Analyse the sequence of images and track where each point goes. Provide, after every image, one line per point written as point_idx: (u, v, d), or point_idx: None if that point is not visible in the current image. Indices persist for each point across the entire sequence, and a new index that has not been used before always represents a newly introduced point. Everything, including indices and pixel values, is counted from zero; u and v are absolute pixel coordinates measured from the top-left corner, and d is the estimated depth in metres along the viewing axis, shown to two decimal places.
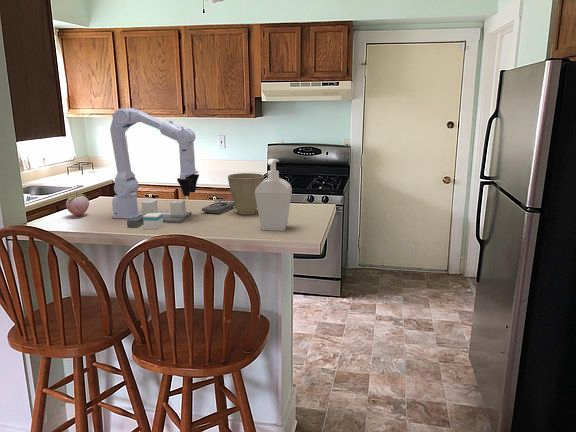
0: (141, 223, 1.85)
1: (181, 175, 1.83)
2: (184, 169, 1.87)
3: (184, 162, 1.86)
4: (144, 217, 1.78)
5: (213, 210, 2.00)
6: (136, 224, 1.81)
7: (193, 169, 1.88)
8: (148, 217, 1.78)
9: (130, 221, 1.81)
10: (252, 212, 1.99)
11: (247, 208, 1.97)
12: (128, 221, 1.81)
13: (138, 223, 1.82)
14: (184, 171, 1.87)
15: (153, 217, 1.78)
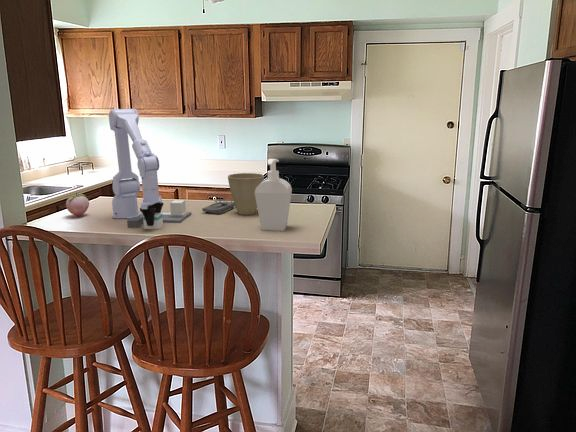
0: (141, 223, 1.85)
1: (142, 204, 1.72)
2: (146, 198, 1.76)
3: (146, 191, 1.75)
4: (144, 217, 1.78)
5: (214, 210, 1.99)
6: (136, 224, 1.81)
7: (156, 198, 1.77)
8: None
9: (130, 221, 1.81)
10: (252, 212, 1.99)
11: (247, 208, 1.97)
12: (128, 221, 1.81)
13: (138, 223, 1.82)
14: (146, 200, 1.76)
15: None
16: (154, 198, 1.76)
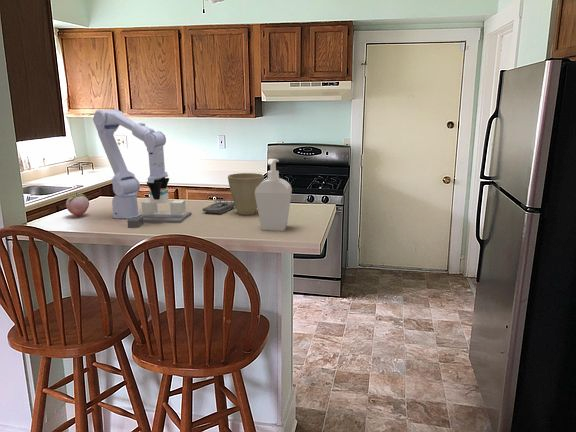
0: (141, 223, 1.85)
1: (149, 178, 1.80)
2: (153, 172, 1.84)
3: (153, 165, 1.83)
4: (150, 191, 1.86)
5: (214, 210, 1.99)
6: (137, 224, 1.81)
7: (162, 172, 1.85)
8: None
9: (131, 221, 1.81)
10: (252, 212, 1.99)
11: (247, 208, 1.97)
12: (129, 221, 1.81)
13: (139, 223, 1.82)
14: (153, 174, 1.84)
15: None
16: (160, 173, 1.84)
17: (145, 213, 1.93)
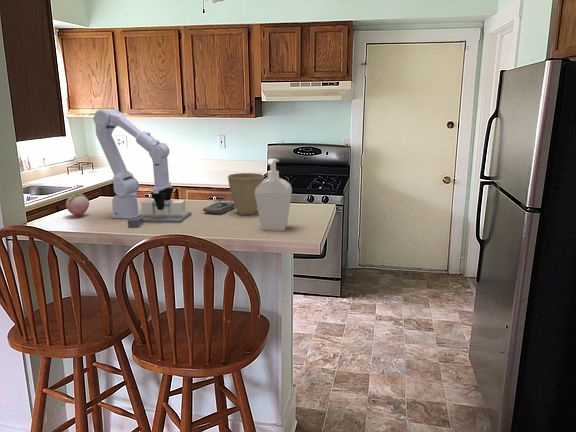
0: (141, 223, 1.85)
1: (154, 189, 1.85)
2: (158, 183, 1.89)
3: (158, 176, 1.88)
4: (155, 203, 1.91)
5: (214, 210, 1.99)
6: (137, 224, 1.81)
7: (167, 183, 1.90)
8: None
9: (131, 221, 1.81)
10: (252, 212, 1.99)
11: (247, 208, 1.97)
12: (129, 221, 1.81)
13: (139, 223, 1.82)
14: (158, 185, 1.89)
15: (164, 203, 1.91)
16: (165, 183, 1.89)
17: (145, 213, 1.93)
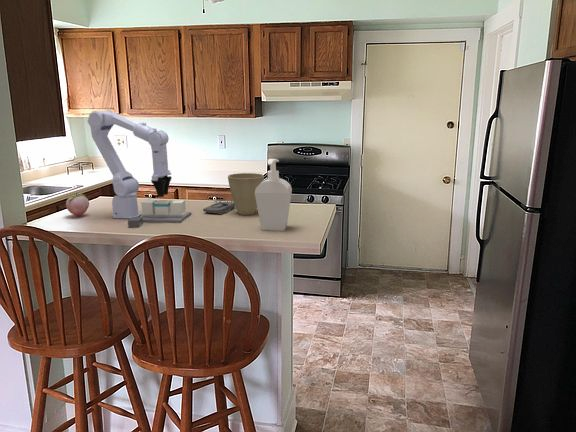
0: (141, 223, 1.85)
1: (152, 176, 1.84)
2: (157, 171, 1.88)
3: (156, 164, 1.87)
4: (155, 203, 1.91)
5: (215, 210, 1.99)
6: (137, 224, 1.81)
7: (166, 171, 1.89)
8: (158, 203, 1.91)
9: (131, 221, 1.81)
10: (252, 212, 1.99)
11: (247, 208, 1.97)
12: (129, 221, 1.81)
13: (139, 223, 1.82)
14: (157, 173, 1.88)
15: (164, 203, 1.91)
16: (164, 171, 1.88)
17: (145, 213, 1.93)
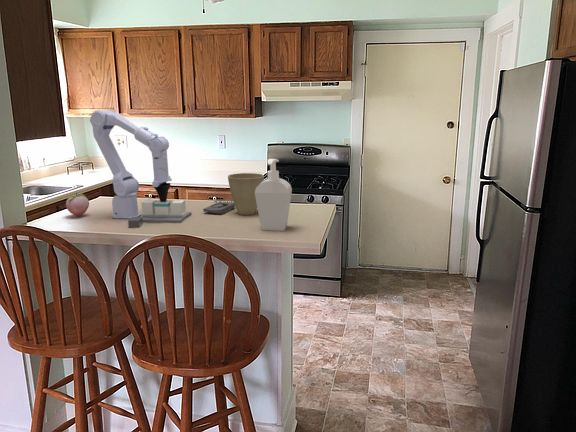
0: (141, 223, 1.85)
1: (153, 182, 1.84)
2: (157, 177, 1.88)
3: (157, 170, 1.87)
4: (155, 203, 1.91)
5: (215, 210, 1.99)
6: (138, 224, 1.81)
7: (166, 177, 1.90)
8: (158, 203, 1.91)
9: (131, 221, 1.81)
10: (252, 212, 1.99)
11: (247, 208, 1.97)
12: (129, 221, 1.81)
13: (139, 223, 1.82)
14: (157, 179, 1.88)
15: (164, 203, 1.91)
16: (164, 177, 1.89)
17: (145, 213, 1.93)
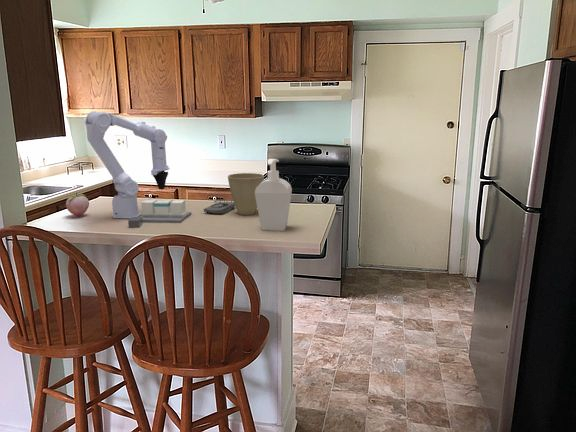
0: (141, 223, 1.85)
1: (152, 171, 1.98)
2: (156, 166, 2.02)
3: (156, 159, 2.01)
4: (155, 203, 1.91)
5: (215, 210, 1.99)
6: (138, 224, 1.81)
7: (164, 166, 2.03)
8: (158, 203, 1.91)
9: (132, 221, 1.81)
10: (252, 212, 1.99)
11: (247, 208, 1.97)
12: (129, 221, 1.81)
13: (139, 223, 1.82)
14: (156, 167, 2.02)
15: (164, 203, 1.91)
16: (162, 166, 2.02)
17: (145, 213, 1.93)
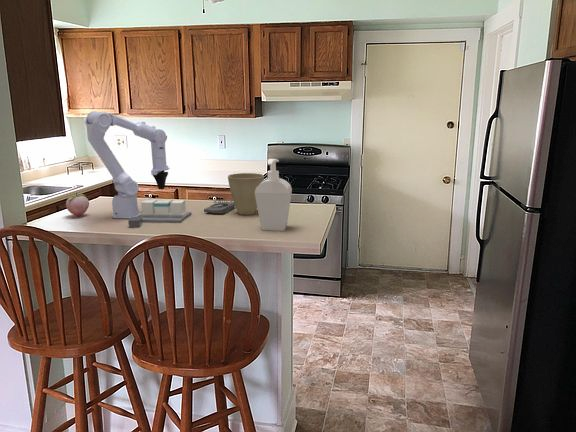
0: (141, 223, 1.85)
1: (152, 171, 1.98)
2: (156, 166, 2.02)
3: (155, 159, 2.01)
4: (155, 203, 1.91)
5: (216, 211, 1.99)
6: (138, 224, 1.81)
7: (164, 166, 2.03)
8: (158, 203, 1.91)
9: (132, 221, 1.81)
10: (252, 212, 1.99)
11: (247, 208, 1.97)
12: (130, 221, 1.81)
13: (140, 223, 1.82)
14: (156, 167, 2.02)
15: (164, 203, 1.91)
16: (162, 166, 2.02)
17: (145, 213, 1.93)
